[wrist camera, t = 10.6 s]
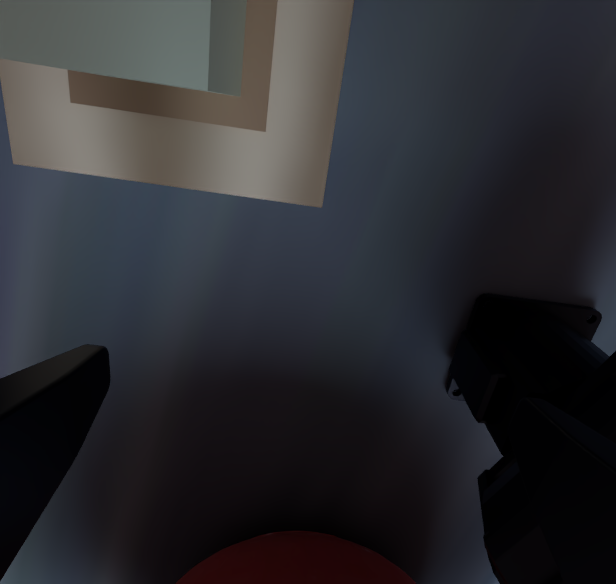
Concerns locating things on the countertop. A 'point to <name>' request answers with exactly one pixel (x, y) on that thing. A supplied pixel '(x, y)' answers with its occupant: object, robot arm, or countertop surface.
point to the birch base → (198, 113)
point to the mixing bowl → (296, 562)
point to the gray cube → (131, 39)
